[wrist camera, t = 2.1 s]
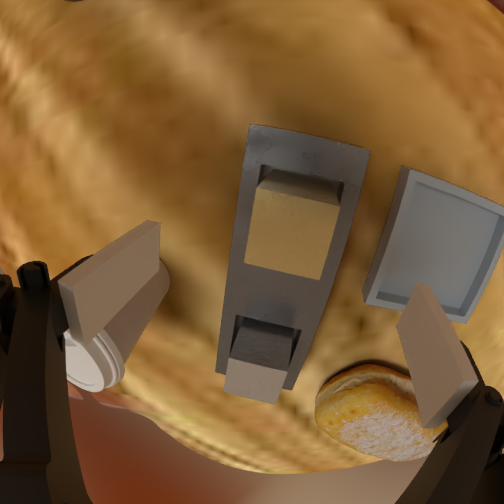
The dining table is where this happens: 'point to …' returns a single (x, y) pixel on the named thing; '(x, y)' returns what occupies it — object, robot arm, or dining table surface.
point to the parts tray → (436, 245)
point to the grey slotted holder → (276, 282)
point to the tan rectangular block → (292, 224)
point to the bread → (375, 413)
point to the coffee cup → (115, 338)
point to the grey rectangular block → (259, 360)
